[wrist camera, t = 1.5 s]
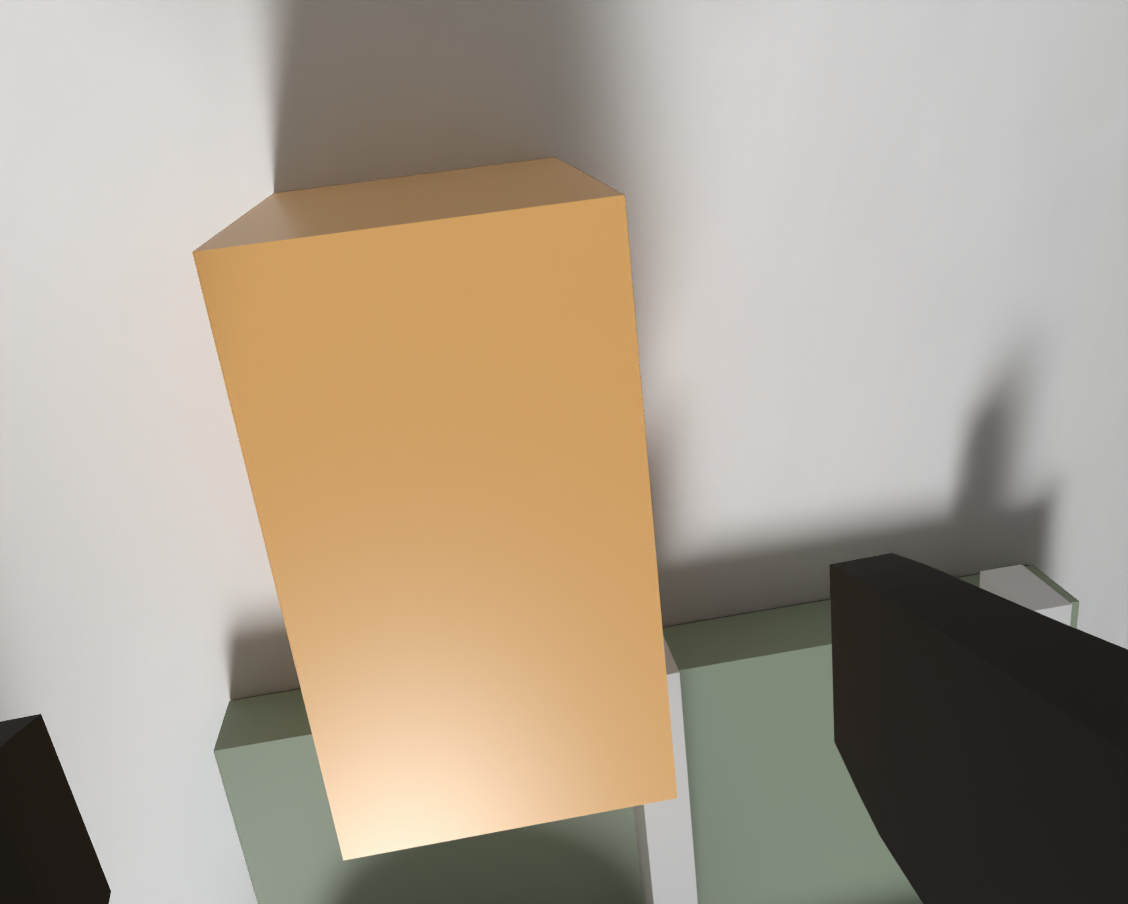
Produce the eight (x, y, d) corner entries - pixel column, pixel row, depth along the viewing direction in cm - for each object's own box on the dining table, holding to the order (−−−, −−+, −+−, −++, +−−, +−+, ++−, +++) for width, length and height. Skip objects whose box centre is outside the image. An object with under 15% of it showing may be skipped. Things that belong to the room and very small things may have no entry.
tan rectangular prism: (554, 156, 16) (624, 195, 10) (602, 587, 19) (677, 798, 13) (274, 192, 16) (192, 251, 10) (367, 626, 18) (343, 859, 13)
